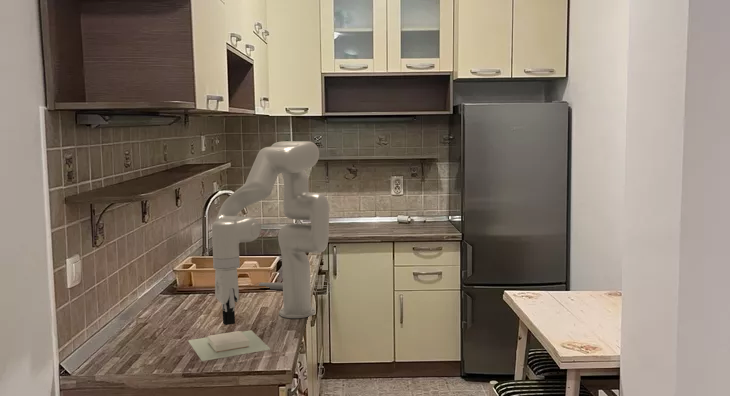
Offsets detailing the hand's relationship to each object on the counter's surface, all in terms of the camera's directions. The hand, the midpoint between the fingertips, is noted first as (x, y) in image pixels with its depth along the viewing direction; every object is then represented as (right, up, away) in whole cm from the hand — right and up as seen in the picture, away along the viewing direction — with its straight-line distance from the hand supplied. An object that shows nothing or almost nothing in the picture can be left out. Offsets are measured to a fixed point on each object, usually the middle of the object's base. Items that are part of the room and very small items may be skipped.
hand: (229, 323), depth 193 cm
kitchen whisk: (+12, 0, +66) cm, 67 cm away
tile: (-3, -5, +7) cm, 9 cm away
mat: (-1, -7, +3) cm, 8 cm away
